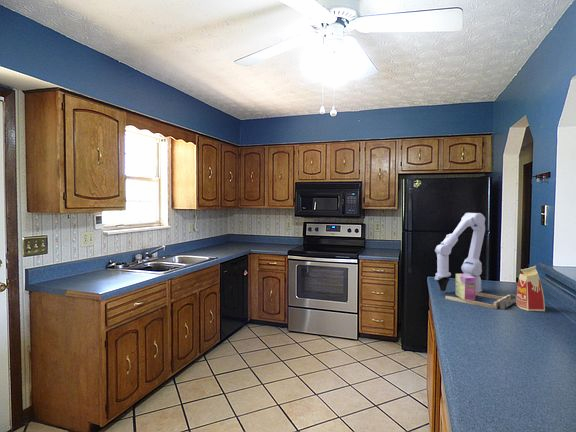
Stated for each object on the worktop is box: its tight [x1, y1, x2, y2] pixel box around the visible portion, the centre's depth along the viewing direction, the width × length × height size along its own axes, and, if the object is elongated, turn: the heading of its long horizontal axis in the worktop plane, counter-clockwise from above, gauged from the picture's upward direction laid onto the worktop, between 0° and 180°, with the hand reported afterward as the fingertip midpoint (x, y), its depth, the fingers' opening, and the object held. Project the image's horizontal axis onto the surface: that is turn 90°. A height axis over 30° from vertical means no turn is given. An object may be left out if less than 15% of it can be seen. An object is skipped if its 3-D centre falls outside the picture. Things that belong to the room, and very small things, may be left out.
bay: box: [445, 292, 517, 311], centre depth 178 cm, size 19×28×4 cm
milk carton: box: [515, 265, 546, 312], centre depth 164 cm, size 9×9×20 cm
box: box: [455, 273, 476, 301], centre depth 183 cm, size 10×6×12 cm, turn 179°
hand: (442, 290), depth 193 cm, fingers closed
